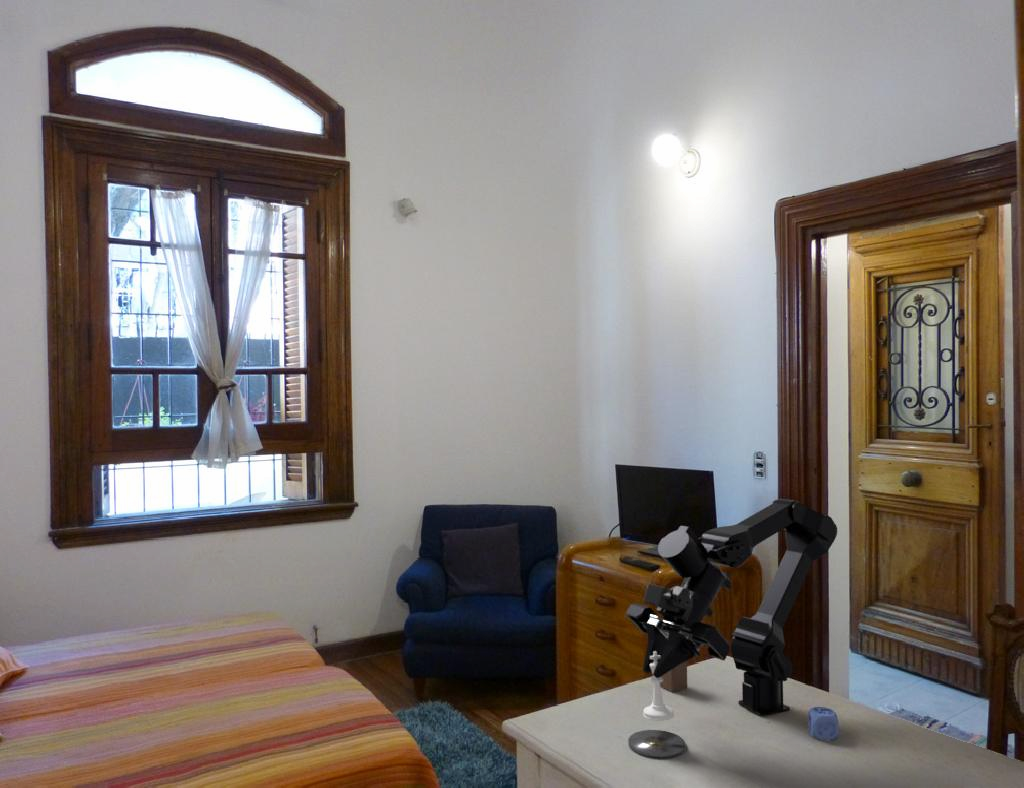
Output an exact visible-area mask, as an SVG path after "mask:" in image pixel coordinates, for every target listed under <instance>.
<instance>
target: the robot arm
mask: <svg viewBox="0 0 1024 788" xmlns="http://www.w3.org/2000/svg"><path fill="white" fill-rule="evenodd" d="M782 530H784V531H785V533H784V537H785V543H786V550H785V553H784V555H783V557H782V559H781V561H780V563H779V565H778V568H777V570H776V572H775V574H774V576H773V578H772V581H771V582H770V585H769V586H768V589H767V591H766V593H765V595H764V597H763V599H762V601H761V604H760V606H759V607H758V610H757V611H756V613H755V615H753V616H752V617H747V616H742V617H740V618H739V620H738V623H737V626H736V628H735V630H734V631H733V632H732V633H731V636H732V639H731V641H730V642H729V641H728V640H727V638H726V637H725V636H724V635H723V634H722V633H721V631H719V629H718V628H717V627H716V626H714V625H711V624H707V623H705V622H703V621H704V620H703V619H705V617H708V618H711V617H712V615H713V613H714V611H713V610H712V609H711V608H710V607H711V606H712V604H713V602H714V601H715V599H716V598H717V595H718V593H719V591H720V589H721V588H722V589H726V590H732V588H733V586H732V581H731V579H730V573H729V572H727V571H723V570H722V569H721V567H720V566H724V567H727V568H732V569H737V568H739V567H741V566H742V565H743V564H744V563H745V562H747V561H748V560H749V558H751V557H752V554H753V551H754V548H755V547H756V546H758V545H759V544H760V543H762V542H764V541H766V540H767V539H769V538H771V537H772V536H773V535H776V534H777V533H779V532H780V531H782ZM837 536H838V527H837V524H836V523H835V521H834V520H833V518H832V517H831V516H830V515H826V514H823V513H821V512H820V511H819V512H818V511H816V510H814V509H812V508H810V507H808V506H806V505H805V504H803V503H802V502H800V501H798V500H793V499H787V498H786V499H785V498H778V499H774V500H773V501H772V502H771V504H770V505H768V506H766V507H764V508H762V509H761V510H759V511H757V512H756V513H754V514H752V515H750V516H748V517H747V518H745V519H743V520H741V521H740V522H738V523H736V524H733V525H732V524H731V525H725V526H719V527H714V528H712V529H709V530H706V531H705V532H704V533H703V534H702V535H701V537H697V535H696V534H695V532H694V530H693V529H692V528H691V527H690V526H686V525H680V526H679V527H678V529H677V530H674V531H671V532H670V533H668V534H667V535H666V536H664V537H662V538H661V539H660V541H659V543H658V545H657V552H658V554H659V555H660V557H662V559H663V560H664V561H665V562H666V563H667V565H668V566H669V567H670V568H671V569H672V571H673V572H674V573H675V574H676V575H677V576H678V577H680V578H682V579H683V578H684V580H683V581H682V583H681V585H680V586H679V585H676V586H673V587H671V588H667V587H663V586H659V585H656V584H652V583H648V584H647V587H646V589H645V594H644V598H643V601H642V603H644V604H646V605H644V604H640V603H637V602H636V603H632V604H630V606H629V607H628V608H627V610H626V612H625V616H627V618H628V619H629V620H630V621H631V623H633V624H634V625H635V627H636V628H638V629H639V631H641V633H643V634H645V635H647V645H646V651H645V656H644V661H643V667H642V671H643V672H644V673H645V674H646V675H648V674H650V673H652V671H651V668H650V663H652V662H654V659H650V656H654V655H653V652H655V651H656V652H657V655H660V656H661V658H660V659H657V662H658V664H657V666H656V668H655V670H654V673H653V674H652V676H653V675H654V676H655V677H656V678H660V677H661V676H663V675H664V674H666V673H667V672H669V671H670V670H672V669H673V668H675V667H677V666H678V665H680V664H682V663H683V662H685V661H687V662H688V661H689V660H691V659H692V658H694V657H697V658H699V657H700V656H701V653H700V652H699V651H700V649H701V648H702V646H703V645H704V646H707V647H708V648H707V651H708V654H709V656H710V657H712V658H715V659H717V660H720V661H723V662H724V661H726V658H727V656H728V655H729V653H730V652H731V655H732V657H733V662H734V664H735V665H734V666H735V668H736V669H737V670H741V671H743V681H742V682H741V684H742V699H740V700H738V704H739V705H740V706H742V707H743V708H746V709H748V710H749V711H751V712H753V713H755V714H757V715H759V716H760V717H765V716H769V715H770V716H771V715H776V714H778V713H783V712H789V711H790V710H791V709H790V708H791V707H790V706H789V705H786V704H784V682H786V681H788V679H789V678H791V677H792V672H793V667H794V666H793V663H792V662H791V661H790V660H789V659H788V657H787V656H786V655H785V654H784V650H785V647H786V643H785V637H784V636H785V635H784V631H783V629H784V626H785V625H786V624H785V623H787V619H788V617H789V614H790V613H791V610H792V609H793V606H794V604H795V602H796V600H797V597H798V595H799V593H800V591H801V589H802V586H803V585H804V582H805V580H806V577H807V575H808V574H809V571H810V568H811V567H812V565H813V563H814V562H815V561H817V560H818V559H819V558H821V557H822V556H824V555H825V554H827V552H828V551H829V550H830V548H831V547H832V545H833V544H834V542H835V540H836V538H837ZM718 565H719V566H718ZM648 604H650V605H651V606H654V607H657V608H656V611H657V613H658V614H659V615H662V617H660V616H659V615H658V614H657V613H656V612H655V610H653V609H652V607H650V606H647V605H648Z"/></svg>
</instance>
